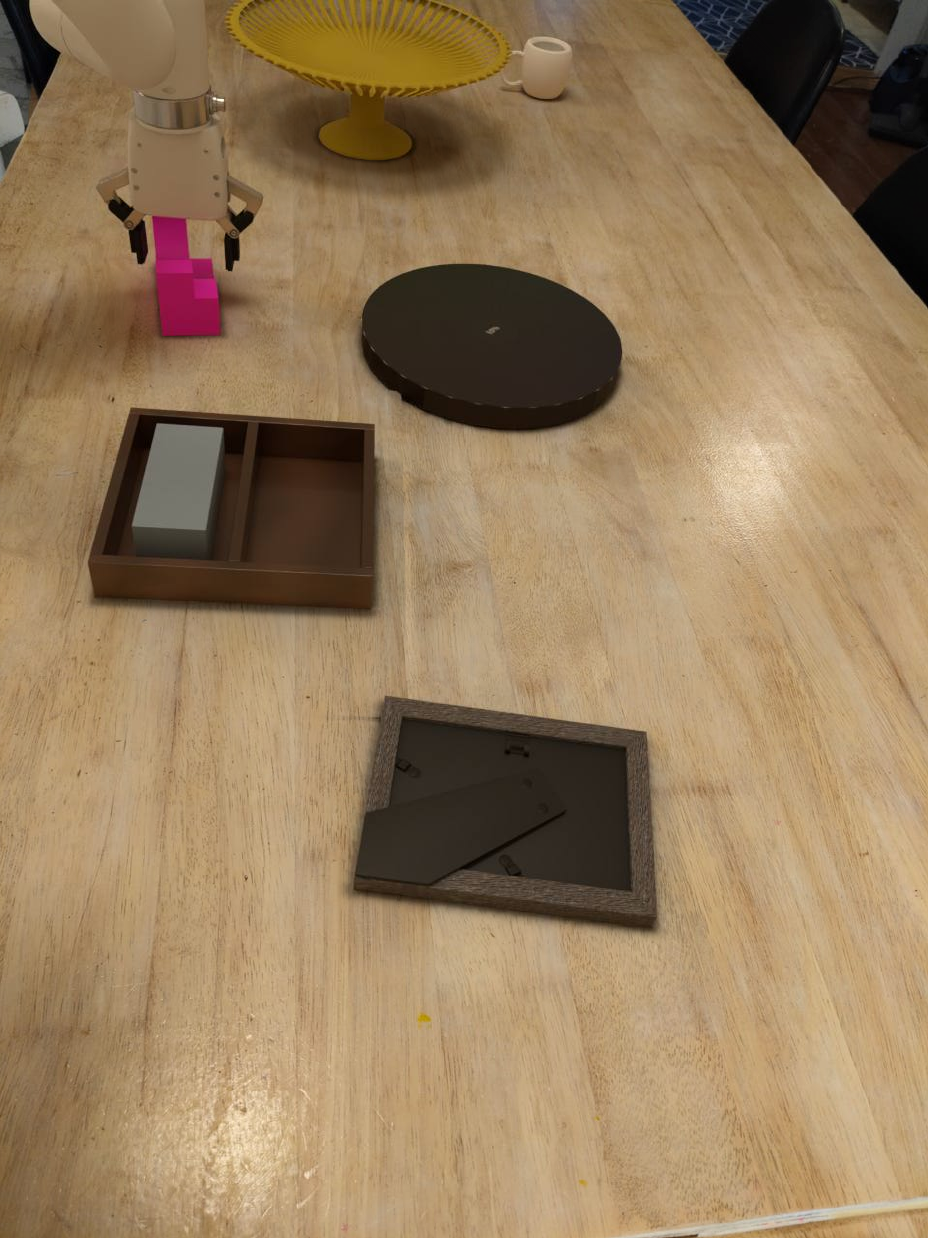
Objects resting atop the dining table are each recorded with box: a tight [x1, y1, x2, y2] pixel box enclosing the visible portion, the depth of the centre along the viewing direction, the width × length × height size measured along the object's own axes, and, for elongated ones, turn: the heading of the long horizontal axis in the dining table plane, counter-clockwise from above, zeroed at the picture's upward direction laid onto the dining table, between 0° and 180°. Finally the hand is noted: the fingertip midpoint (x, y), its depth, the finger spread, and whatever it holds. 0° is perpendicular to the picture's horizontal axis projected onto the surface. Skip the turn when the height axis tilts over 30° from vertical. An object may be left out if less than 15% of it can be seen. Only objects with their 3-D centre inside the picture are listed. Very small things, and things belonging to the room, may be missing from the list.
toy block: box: [151, 216, 221, 337], centre depth 116 cm, size 15×6×8 cm, turn 13°
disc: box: [360, 262, 624, 430], centre depth 118 cm, size 30×30×3 cm
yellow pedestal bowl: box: [223, 0, 513, 161], centre depth 149 cm, size 40×40×15 cm
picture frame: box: [353, 695, 658, 928], centre depth 76 cm, size 16×2×21 cm
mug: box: [499, 36, 573, 100], centre depth 173 cm, size 12×8×8 cm
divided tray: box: [87, 407, 376, 611], centre depth 93 cm, size 23×21×5 cm
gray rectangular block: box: [132, 423, 226, 560], centre depth 91 cm, size 6×14×5 cm, turn 3°
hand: (187, 261), depth 116 cm, fingers open, 9 cm apart
